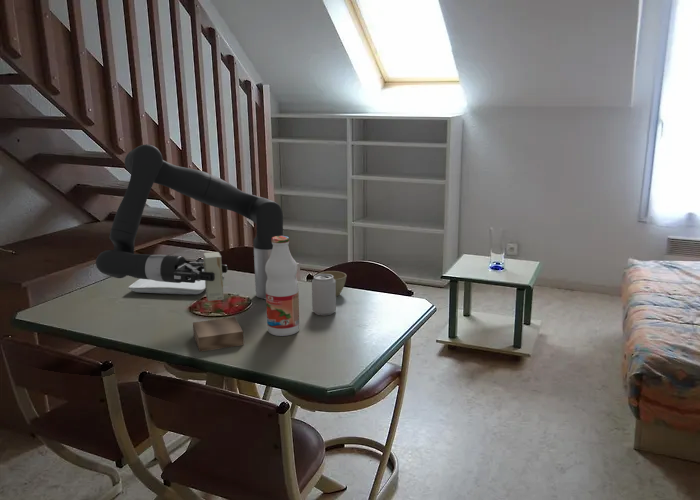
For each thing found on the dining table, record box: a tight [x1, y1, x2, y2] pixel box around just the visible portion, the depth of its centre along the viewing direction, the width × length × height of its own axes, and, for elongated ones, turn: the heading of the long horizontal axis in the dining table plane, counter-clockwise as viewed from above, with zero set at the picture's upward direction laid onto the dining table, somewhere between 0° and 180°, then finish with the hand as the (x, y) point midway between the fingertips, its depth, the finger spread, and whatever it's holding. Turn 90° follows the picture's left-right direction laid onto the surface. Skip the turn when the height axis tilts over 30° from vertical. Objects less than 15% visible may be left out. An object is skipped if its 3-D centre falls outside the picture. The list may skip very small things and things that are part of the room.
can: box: [311, 273, 337, 316], centre depth 192 cm, size 8×8×12 cm
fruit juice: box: [265, 235, 301, 337], centre depth 176 cm, size 9×9×28 cm
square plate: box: [127, 269, 224, 295], centre depth 222 cm, size 27×27×4 cm
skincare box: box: [203, 251, 225, 302], centre depth 168 cm, size 6×4×12 cm
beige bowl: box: [316, 270, 347, 298], centre depth 209 cm, size 10×10×7 cm
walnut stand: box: [192, 316, 245, 352], centre depth 172 cm, size 12×12×4 cm
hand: (220, 272), depth 167 cm, fingers closed on skincare box, 7 cm apart
